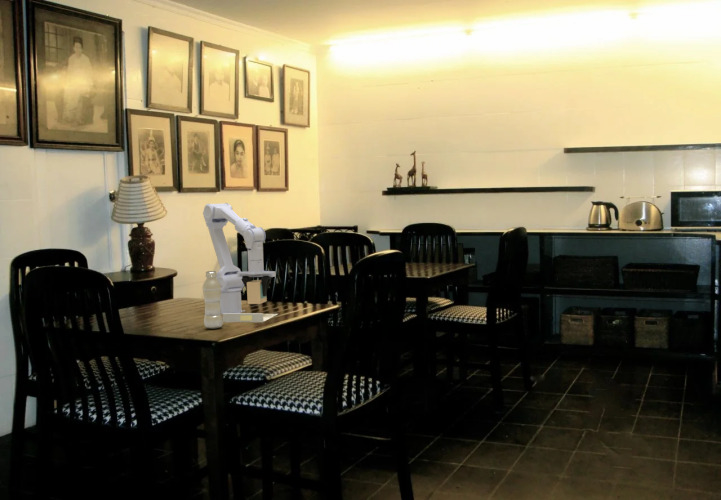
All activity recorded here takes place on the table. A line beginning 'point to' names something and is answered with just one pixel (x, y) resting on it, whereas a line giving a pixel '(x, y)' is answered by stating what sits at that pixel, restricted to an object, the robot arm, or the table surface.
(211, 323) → the plastic bottle
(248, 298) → the kraft carton
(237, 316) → the large cream panel
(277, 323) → the table surface
